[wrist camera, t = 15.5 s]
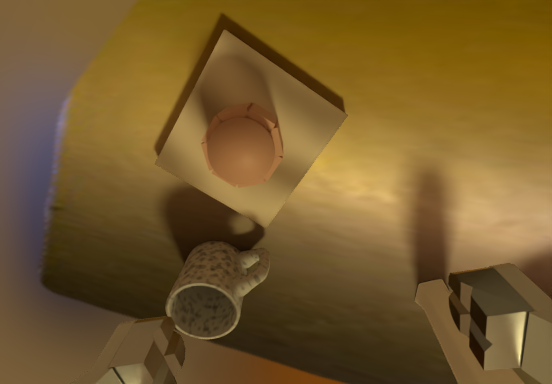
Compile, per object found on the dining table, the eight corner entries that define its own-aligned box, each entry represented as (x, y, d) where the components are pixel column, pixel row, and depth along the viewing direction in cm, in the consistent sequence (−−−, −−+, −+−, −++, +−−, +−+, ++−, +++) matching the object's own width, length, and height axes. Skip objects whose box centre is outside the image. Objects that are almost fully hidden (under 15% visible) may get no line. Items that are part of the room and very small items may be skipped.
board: (226, 30, 25) (224, 28, 24) (345, 113, 27) (347, 115, 26) (159, 160, 29) (154, 164, 28) (266, 222, 32) (266, 228, 31)
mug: (209, 299, 36) (193, 348, 30) (174, 256, 34) (150, 299, 27) (285, 264, 34) (286, 309, 28) (254, 216, 32) (247, 254, 25)
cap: (294, 129, 27) (297, 141, 23) (258, 183, 29) (254, 203, 25) (234, 89, 26) (225, 94, 21) (201, 148, 28) (186, 164, 23)
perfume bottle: (402, 288, 34) (483, 439, 21) (440, 270, 33) (551, 417, 20) (420, 315, 36) (507, 473, 22) (457, 298, 35) (571, 454, 21)
